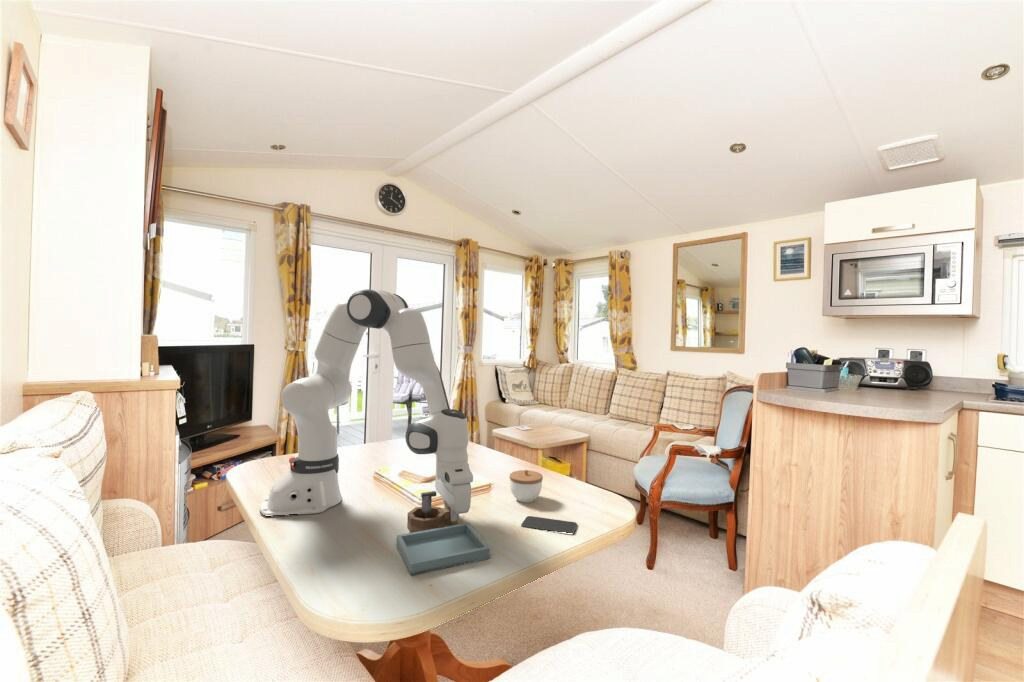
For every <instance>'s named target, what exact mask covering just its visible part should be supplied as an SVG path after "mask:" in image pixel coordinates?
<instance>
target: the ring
mask: <svg viewBox="0 0 1024 682" xmlns="http://www.w3.org/2000/svg"><path fill="white" fill-rule="evenodd" d="M450 513H451V507H446V508H445V507H439V506H433V505H431V518H427V519H423V518H422V506H417V507H414V508H412V509H411V510H410V511H409V512H407V524H406V525H407V527H406V528H407V529H408V531H409V533H413V532H419V531H425V530H430V529H436V528H442V527H447V526H453V525H459V524H460V522H459V521H460V519H459V517H460V514H457V520H456V521H451V520H450V518H449V517H450Z"/></svg>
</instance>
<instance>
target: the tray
mask: <svg viewBox="0 0 1024 682" xmlns="http://www.w3.org/2000/svg"><path fill="white" fill-rule="evenodd" d="M395 543H396V545H397V546H396V548H397V549H398V552H399V553H400V556H401V559H402V560H403V562H404V565H405V567H406V569H407V570H408V572H409V575H410V576H416V575H420V574H424V573H429V571H430V572H435V571H439V570H443V568H444V569H447V568H446V567H448V568H451V566H453V567H456V566H455V565H457V566H461V565H460V564H462V565H465V564H464V563H466V564H470V563H469V562H471V563H474V561H475V562H479V561H483V560H488V559H491V546H489V545H488V544H487V543H486V542H485V541H484V539H483V538H482V537H481V536H480V535H479V534H478V533H477V531H476V530H475V529H474V528H473V527H472V526H471V524H470V523H469V522H465V523H459V524H456V525H451V526H445V527H442V528H436V529H430V530H425V531H419V532H413V533H410V532H409V533H403V534H398V535H397V534H396V542H395ZM438 569H439V570H438Z"/></svg>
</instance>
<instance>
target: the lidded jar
mask: <svg viewBox="0 0 1024 682" xmlns="http://www.w3.org/2000/svg"><path fill="white" fill-rule="evenodd" d="M543 478H544V477H543V474H542V473H541V472H537V471H535V470H528V469H519V470H515V471H512V472H511V473H509V488H510V491H511V494H512V495H513V497H514V498H515V499H516V501H518V502H521V503H533V502H534V501H535V499H537V498H538V497H539V495H540V494H541V492H542V488H543Z"/></svg>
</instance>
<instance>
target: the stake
mask: <svg viewBox="0 0 1024 682" xmlns="http://www.w3.org/2000/svg"><path fill="white" fill-rule="evenodd" d="M435 497H437V491H436V490H432V491H425V492H421V493H420V498H421V507H422V518H423V519H427V518H431V506H432V502H433V501H432V498H435Z"/></svg>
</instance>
